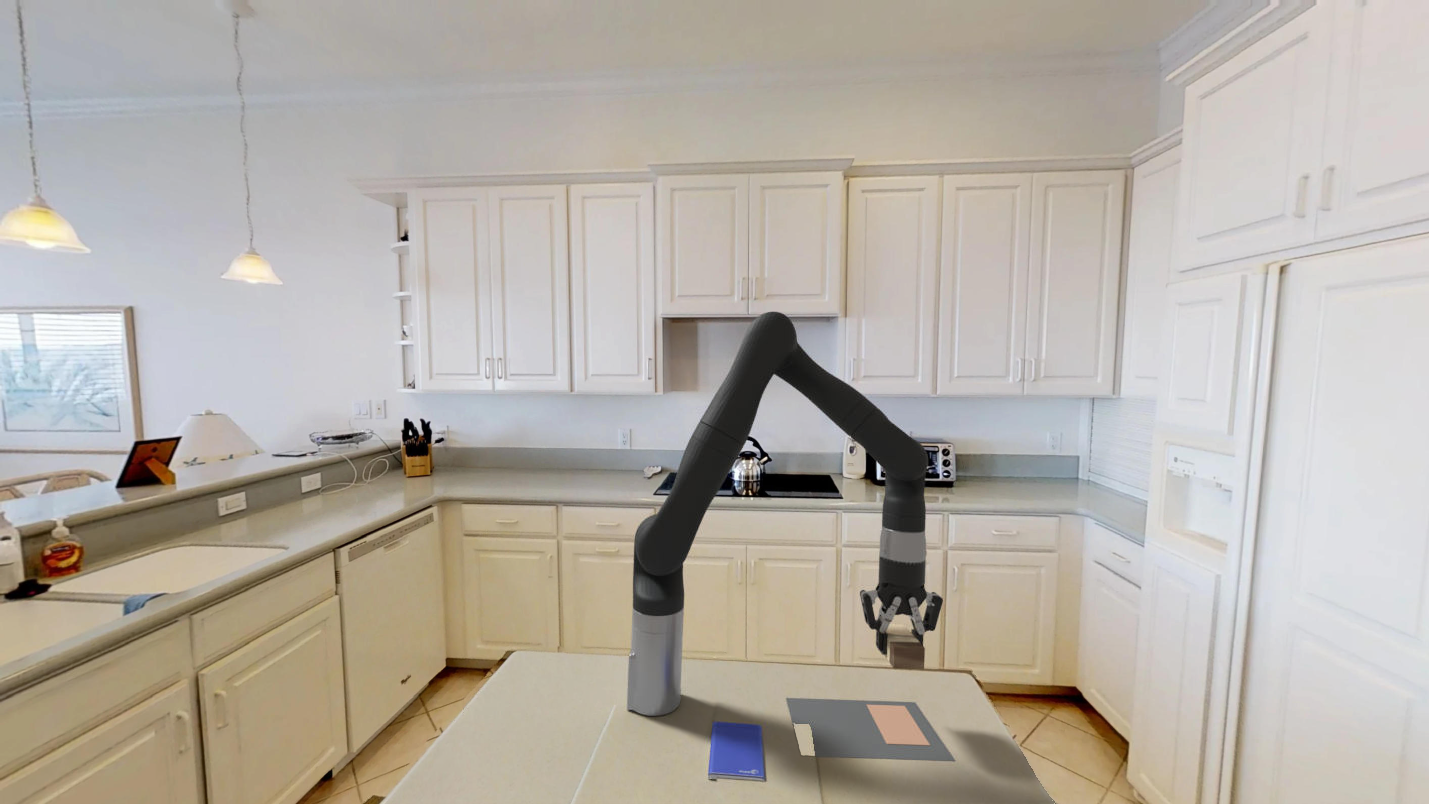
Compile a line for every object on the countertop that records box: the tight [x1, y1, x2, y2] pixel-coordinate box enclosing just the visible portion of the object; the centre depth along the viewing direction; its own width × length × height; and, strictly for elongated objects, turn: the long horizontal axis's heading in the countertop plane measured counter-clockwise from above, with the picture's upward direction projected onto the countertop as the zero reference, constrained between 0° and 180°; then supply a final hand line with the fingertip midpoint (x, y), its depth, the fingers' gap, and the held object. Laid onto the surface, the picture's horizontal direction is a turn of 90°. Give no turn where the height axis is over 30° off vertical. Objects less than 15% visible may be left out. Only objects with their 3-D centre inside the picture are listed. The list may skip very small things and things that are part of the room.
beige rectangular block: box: [884, 623, 926, 670], centre depth 90 cm, size 9×5×4 cm, turn 1°
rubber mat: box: [785, 697, 956, 762], centre depth 89 cm, size 24×16×1 cm, turn 90°
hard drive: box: [707, 721, 766, 782], centre depth 82 cm, size 2×8×12 cm
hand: (898, 652), depth 90 cm, fingers closed on beige rectangular block, 5 cm apart
